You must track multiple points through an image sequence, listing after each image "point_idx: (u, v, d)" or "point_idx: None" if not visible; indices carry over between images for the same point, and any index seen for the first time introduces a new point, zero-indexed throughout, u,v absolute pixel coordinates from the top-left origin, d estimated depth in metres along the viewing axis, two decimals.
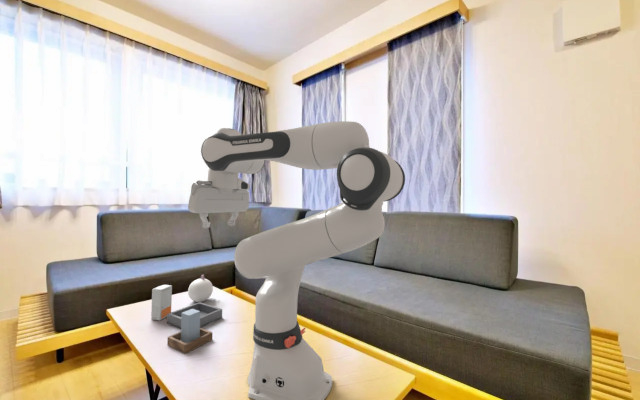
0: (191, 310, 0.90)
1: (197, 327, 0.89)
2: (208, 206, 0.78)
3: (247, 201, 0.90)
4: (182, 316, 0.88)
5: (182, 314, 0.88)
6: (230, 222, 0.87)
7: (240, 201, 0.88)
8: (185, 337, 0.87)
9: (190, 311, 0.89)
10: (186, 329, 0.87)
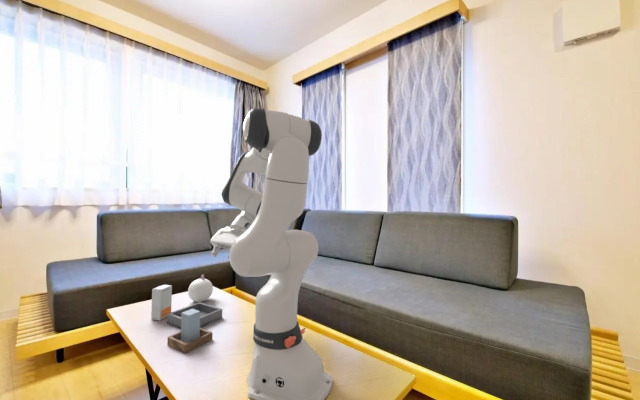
0: (191, 310, 0.90)
1: (197, 327, 0.89)
2: (218, 238, 1.05)
3: None
4: (182, 316, 0.88)
5: (182, 314, 0.88)
6: None
7: None
8: (185, 337, 0.87)
9: (190, 311, 0.89)
10: (186, 329, 0.87)
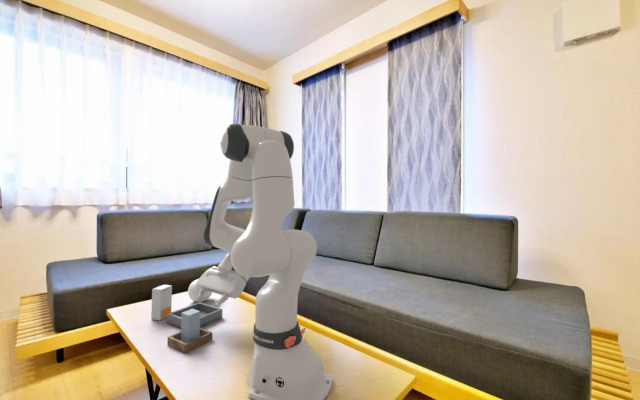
0: (191, 310, 0.90)
1: (197, 327, 0.89)
2: (204, 281, 1.00)
3: (234, 284, 0.93)
4: (182, 316, 0.88)
5: (182, 314, 0.88)
6: None
7: (230, 283, 0.95)
8: (185, 337, 0.87)
9: (190, 311, 0.89)
10: (186, 329, 0.87)
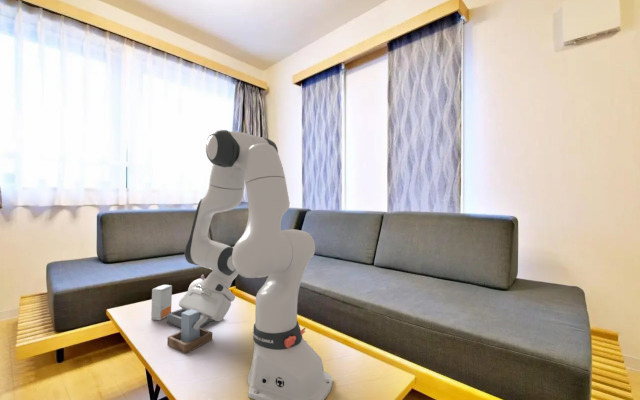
0: (191, 310, 0.90)
1: None
2: (187, 301, 0.94)
3: (218, 305, 0.88)
4: (182, 316, 0.88)
5: (182, 314, 0.88)
6: None
7: (213, 304, 0.89)
8: (185, 337, 0.87)
9: (190, 311, 0.89)
10: (186, 329, 0.87)
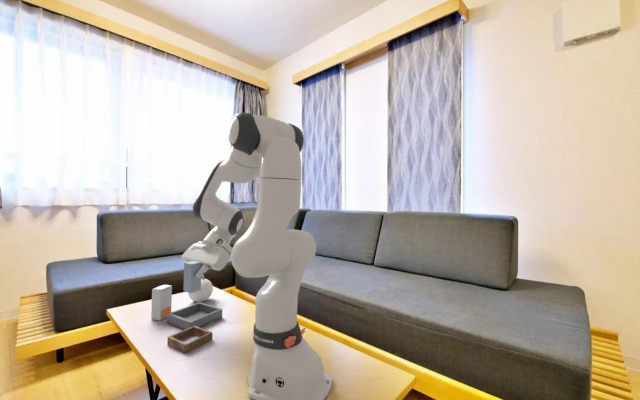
0: (193, 261, 0.97)
1: None
2: (189, 255, 1.01)
3: (218, 256, 0.94)
4: (185, 265, 0.94)
5: (185, 264, 0.94)
6: None
7: (214, 255, 0.96)
8: (187, 285, 0.94)
9: (193, 262, 0.96)
10: (189, 277, 0.93)
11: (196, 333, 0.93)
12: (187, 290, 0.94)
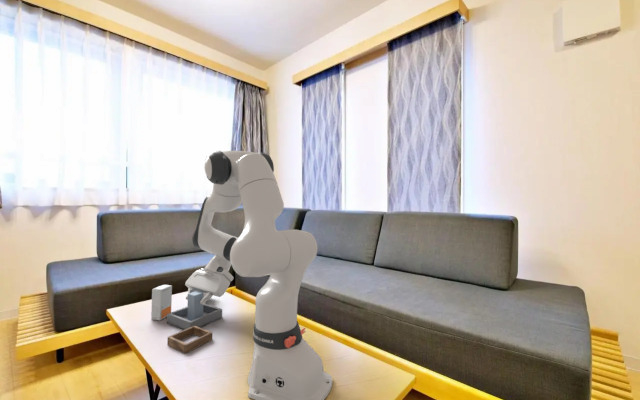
0: (196, 292, 1.06)
1: (201, 306, 1.05)
2: (192, 281, 1.10)
3: (219, 283, 1.04)
4: (188, 296, 1.04)
5: (188, 295, 1.04)
6: None
7: (215, 283, 1.05)
8: (191, 314, 1.03)
9: (195, 292, 1.05)
10: (192, 307, 1.03)
11: (196, 333, 0.93)
12: (191, 319, 1.03)
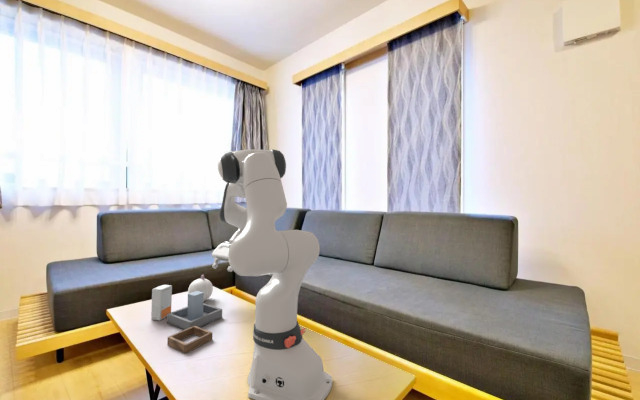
0: (196, 292, 1.06)
1: (201, 306, 1.05)
2: (218, 252, 1.21)
3: None
4: (188, 296, 1.04)
5: (188, 295, 1.04)
6: None
7: None
8: (191, 314, 1.03)
9: (195, 292, 1.05)
10: (192, 307, 1.03)
11: (196, 333, 0.93)
12: (191, 319, 1.03)
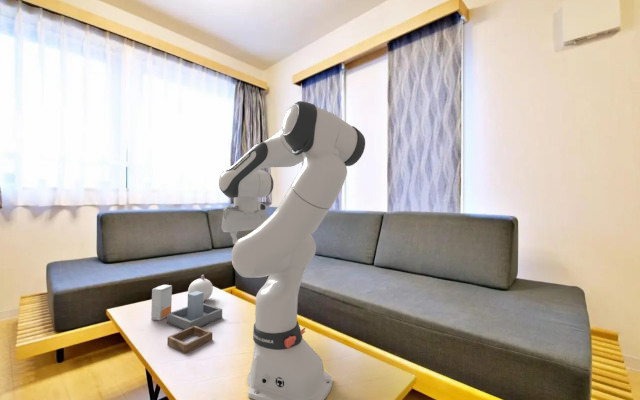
0: (196, 292, 1.06)
1: (201, 306, 1.05)
2: (237, 226, 0.97)
3: (265, 219, 1.10)
4: (188, 296, 1.04)
5: (188, 295, 1.04)
6: None
7: (260, 219, 1.07)
8: (191, 314, 1.03)
9: (195, 292, 1.05)
10: (192, 307, 1.03)
11: (196, 333, 0.93)
12: (191, 319, 1.03)
